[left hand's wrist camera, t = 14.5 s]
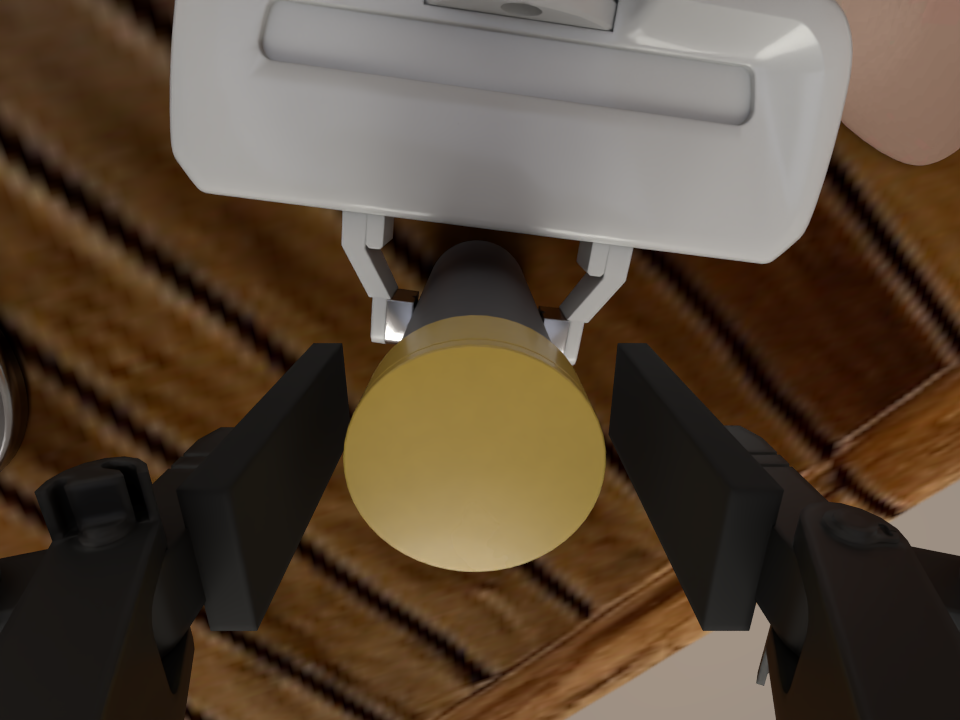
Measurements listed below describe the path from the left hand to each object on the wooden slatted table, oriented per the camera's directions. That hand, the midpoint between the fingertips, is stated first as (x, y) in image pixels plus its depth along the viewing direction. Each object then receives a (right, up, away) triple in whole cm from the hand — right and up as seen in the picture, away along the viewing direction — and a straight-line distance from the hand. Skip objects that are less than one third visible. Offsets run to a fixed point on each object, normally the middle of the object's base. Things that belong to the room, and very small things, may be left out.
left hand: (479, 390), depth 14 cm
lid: (0, -1, -3) cm, 3 cm away
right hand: (0, +1, +6) cm, 6 cm away
